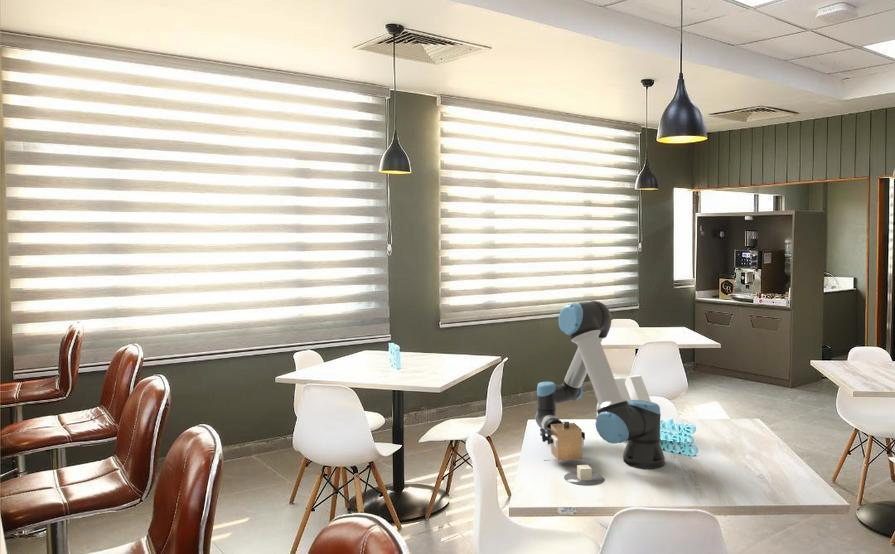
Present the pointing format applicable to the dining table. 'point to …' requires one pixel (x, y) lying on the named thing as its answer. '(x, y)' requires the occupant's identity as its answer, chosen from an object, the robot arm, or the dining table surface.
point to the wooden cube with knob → (567, 441)
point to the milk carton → (632, 389)
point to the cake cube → (584, 472)
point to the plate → (574, 479)
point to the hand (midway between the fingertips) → (569, 443)
